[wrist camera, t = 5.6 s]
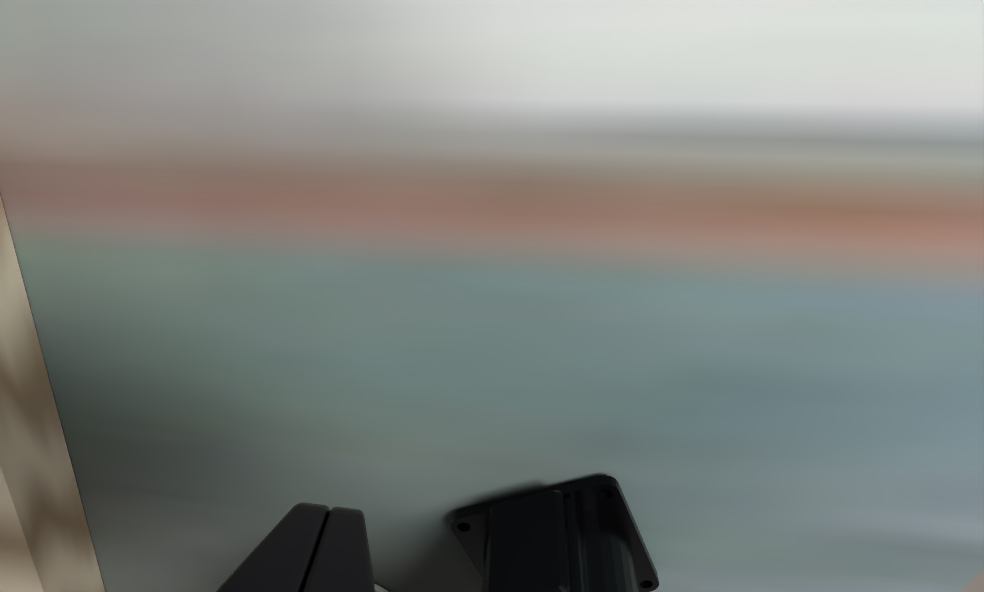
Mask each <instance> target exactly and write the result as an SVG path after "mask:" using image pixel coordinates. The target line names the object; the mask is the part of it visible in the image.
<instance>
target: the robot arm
mask: <svg viewBox="0 0 984 592" xmlns="http://www.w3.org/2000/svg"><path fill="white" fill-rule="evenodd" d="M603 489H608V490H603ZM451 529H452V531H453V533H454V534H455V536H456V537H457V539H458V540H459V542H460V544H461V545H462V547H463V548H464V550H465V551H466V553H467V554H468V556H469V558H470V559H471V561H472V562H473V564H474V565H475V567H476V569H477V570H478V572H479V573H480V575H481V576H482V592H650V591H653V590H655V589H656V588H658V586H659V581H658V575H657V572H656V569H655V567H654V565H653V562H652V560H651V558H650V555H649V553H648V551H647V548H646V546H645V544H644V541H643V539H642V537H641V534H640V532H639V530H638V527H637V525H636V523H635V520H634V518H633V516H632V514H631V511H630V509H629V507H628V504H627V502H626V500H625V497H624V495H623V493H622V490H621V488H620V486H619V483H618V481H617V480H616V479H615V478H613V477H611V476H599V477H595V478H591V479H586V480H582V481H578V482H574V483H570V484H566V485H562V486H557V487H553V488H549V489H545V490H541V491H537V492H533V493H528V494H524V495H520V496H516V497H512V498H508V499H504V500H500V501H495V502H491V503H487V504H483V505H479V506H475V507H471V508H466V509H462V510H459V511H456V512H455V513H454V514H453V515H452V520H451ZM216 592H375V585H374V579H373V572H372V565H371V559H370V552H369V545H368V539H367V532H366V525H365V519H364V514H363V512H362V511H361V510H358V509H350V508H343V507H334V508H332V509H331V510H330V509H329V507H328V506H325V505H319V504H311V503H299V504H297V505H295V506H294V507H293V508H292V509H291V510H290V511H289V512H288V513H287V514H286V516H285V517H284V518H283V519H282V520H281V521H280V522H279V523H278V524H277V525H276V527H275V528H274V529H273V530H272V531H271V532H270V533H269V534H268V535H267V536H266V537H265V539H264V540H263V541H262V542H261V543H260V544H259V545H258V546H257V547H256V548H255V549H254V551H253V552H252V553H251V554H250V555H249V556H248V557H247V558H246V559H245V560H244V561H243V563H242V564H241V565H240V566H239V567H238V568H237V569H236V570H235V571H234V572H233V574H232V575H231V576H230V577H229V578H228V579H227V580H226V581H225V582H224V583H223V584H222V586H221V587H220V588H219V589H218V590H217V591H216Z"/></svg>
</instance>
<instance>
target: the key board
mask: <svg viewBox="0 0 984 592" xmlns="http://www.w3.org/2000/svg"><path fill="white" fill-rule="evenodd" d="M0 592H105V589H104V585H103V581H102V578H101V574H100V570H99V566H98V562H97V559H96V555H95V551H94V547H93V544H92V540H91V536H90V532H89V528H88V525H87V521H86V517H85V513H84V510H83V506H82V502H81V498H80V494H79V491H78V487H77V483H76V479H75V476H74V472H73V468H72V464H71V460H70V457H69V453H68V449H67V445H66V442H65V438H64V434H63V430H62V426H61V423H60V419H59V415H58V411H57V408H56V404H55V400H54V396H53V392H52V389H51V385H50V381H49V377H48V374H47V370H46V366H45V362H44V358H43V355H42V351H41V347H40V343H39V340H38V336H37V332H36V328H35V324H34V321H33V317H32V313H31V309H30V306H29V302H28V298H27V294H26V290H25V287H24V283H23V279H22V275H21V272H20V268H19V264H18V260H17V256H16V253H15V249H14V245H13V241H12V238H11V234H10V230H9V226H8V222H7V219H6V215H5V211H4V207H3V204H2V200H1V196H0Z"/></svg>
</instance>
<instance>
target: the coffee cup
mask: <svg viewBox="0 0 984 592" xmlns="http://www.w3.org/2000/svg"><path fill="white" fill-rule="evenodd" d="M374 585H375V592H388V591H387V590H385V589H384V588H382V587H380V586H379V585H377V584H374Z"/></svg>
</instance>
